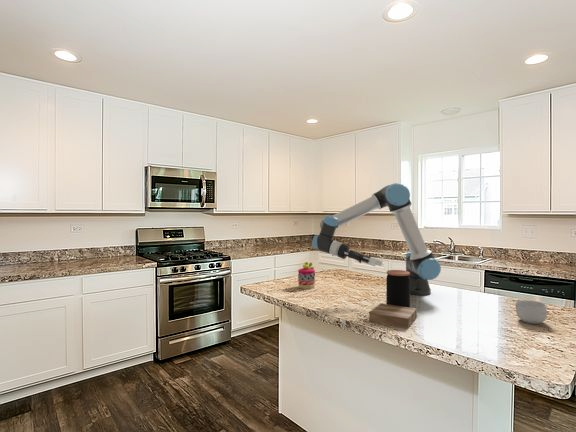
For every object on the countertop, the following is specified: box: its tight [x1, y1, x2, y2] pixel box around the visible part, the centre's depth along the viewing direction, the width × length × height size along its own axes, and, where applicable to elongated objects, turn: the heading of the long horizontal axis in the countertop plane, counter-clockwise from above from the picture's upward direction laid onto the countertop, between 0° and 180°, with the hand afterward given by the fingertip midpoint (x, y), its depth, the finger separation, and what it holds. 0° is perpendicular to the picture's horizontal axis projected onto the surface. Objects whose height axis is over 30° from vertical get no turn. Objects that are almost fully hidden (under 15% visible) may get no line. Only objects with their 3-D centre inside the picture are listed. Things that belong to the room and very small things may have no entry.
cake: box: [297, 261, 316, 290], centre depth 205 cm, size 10×11×15 cm
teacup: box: [515, 299, 548, 325], centre depth 143 cm, size 14×11×8 cm
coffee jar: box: [385, 269, 411, 308], centre depth 159 cm, size 11×11×18 cm
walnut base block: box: [368, 303, 418, 329], centre depth 144 cm, size 16×16×4 cm
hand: (378, 263), depth 166 cm, fingers open, 13 cm apart
